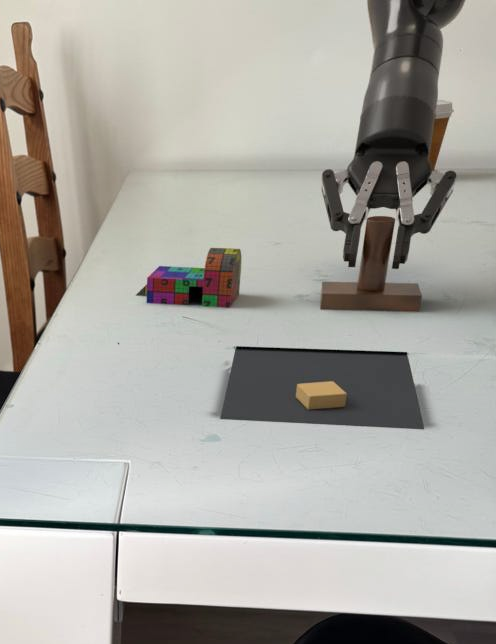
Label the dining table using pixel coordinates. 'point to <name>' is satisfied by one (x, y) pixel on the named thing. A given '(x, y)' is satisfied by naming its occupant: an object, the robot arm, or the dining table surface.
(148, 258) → the dining table surface
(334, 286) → the scrub brush
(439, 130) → the disposable coffee cup
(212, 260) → the block
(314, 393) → the tan flat square block
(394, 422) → the scrub mat
